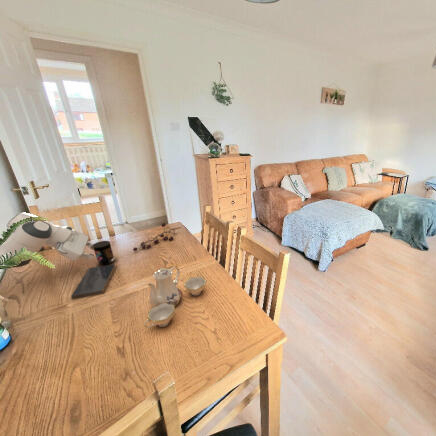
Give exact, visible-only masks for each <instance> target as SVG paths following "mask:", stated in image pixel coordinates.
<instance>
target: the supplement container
mask: <svg viewBox="0 0 436 436" xmlns="http://www.w3.org/2000/svg"><path fill="white" fill-rule="evenodd" d="M92 244H93V249H94V250H93V252H94V255H95V258H96V262H97V265H98V266H106V265H113V264H114V263H115V261H116V259H115V255H114V251H113V249H112V244H111V241H109V240H101V241H96V242H94V243H92Z"/></svg>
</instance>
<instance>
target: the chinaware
mask: <svg viewBox="0 0 436 436" xmlns="http://www.w3.org/2000/svg"><path fill="white" fill-rule="evenodd" d="M173 270H176V277H175V279H174V280H173V274H174V273H173ZM180 272H181V271H180V268H179V267H178V266H173V267H171V268H164V267H161V268H160V269H159V270H157V271H155V272H154V273H153V274H152V275H153V276H152V278H154V280H155V284H154V283H152V282H151V283H148V284H147V286H149V287H150V292H149V300H148V301H149V305H150V307H152V308H150V309H149V310H148V315H147V317H146V319H147V320H146V321H145V322H144V327H145V328H146V329H149V328H151V327H152V326H154V327H157V326H158V327H160V328H163V327H166V326H168V324H169V323H170V322H171V320H172V319H173V316H174V313H175V311H176V306H177V305H178V304H179V303H180V300H181V298H182V295H183V291H182V289H180V288H179V287H178V286H177V285H178V284H179V280H178V279H179V278H180ZM206 283H207V279H206V278H205V277H203V276H202V275H200V276H196V277H189V278H188V279H187V280H186V281H185V282H184V283H183V287H184V288H185V289H186V290H187V292H188V293H190V294H192V296H199V295H201V294H202V291H203V290H204V288H205V285H206ZM150 321H151V323H152V324H151V325H149V326H146V324H147V323H148V322H150Z"/></svg>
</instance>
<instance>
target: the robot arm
mask: <svg viewBox="0 0 436 436" xmlns="http://www.w3.org/2000/svg"><path fill="white" fill-rule="evenodd" d="M30 217H37V216H36V215H34V214H30V213H26V212H20V213H17V214H16V215H15V216H14V217H12V218H11V219H10V220H9V221H8V223H7V224H6V228H7V229H9V228H10V226H11V225H12V224H13V223H16V222H18V221H20V220H23V219H26V218H30ZM93 244H94V243H92V242H91V241H89V236H88V235H87V234H85V233H83V232H81V231H80V230H77V229H74V227H72V226H70V225H67V226H63V227H62V226H60V225H56V224H53V223H51V222H50V221H48V220H46V221H33V220H32V221H28V222H26V223H24V224H22V225H20V226H19V227H18V228H17V229H16V230H15V231H14V232H13V231H12V234H11V235H10V236H9V237H8V238H7V239H6V240H5V241H4V242H3V245H2V244H1V245H2V246H1V245H0V255H5V254H6V253H9V252H11V253H12V255H14V253H15V250H16V251H17V252H19V251H20V250H21V248H22V247H25V248H26V250H27V251H31V252H37V253H38V252H40V250H41V249H43V247H44V246H48V247H50V248H52V249H55V250H56V251H57V252H58V254H59V255H61V256H63V257H65V258H67V259H69V260H72V261H78V260H79V259H80V258H81V259H88V260H92V259H94V255H95V254H92V253H86V252H85V247H87V248H89V249H90V250H92V251H94V249H93ZM10 256H11V254H8V257H10ZM32 260H33V259H28V260H23V261H21V263H20V264H19V265H17V266H13V267H12V268H20V267H25V266H27V265H29V264H30V263H31V261H32Z"/></svg>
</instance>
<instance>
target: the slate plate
mask: <svg viewBox="0 0 436 436" xmlns="http://www.w3.org/2000/svg"><path fill="white" fill-rule="evenodd" d="M115 269H116V264H115V263H112V264H110V265H106V266H100V265H98V266H94V267H88V269H87V270H86V272H85V274H84V275H83V277H82V278H81V280H80V281H79V283H78V284H77V286H76V288H75V289H74V291H73V293H71V299H72V300H73V299H78V298H79V299H80V298H83V297H89V296H94V295H95V296H96V295H101V294H104V293H105V290H106V288H107V286H108V285H109V282H110V279H111V278H112V275H113V273H114V272H115Z"/></svg>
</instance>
